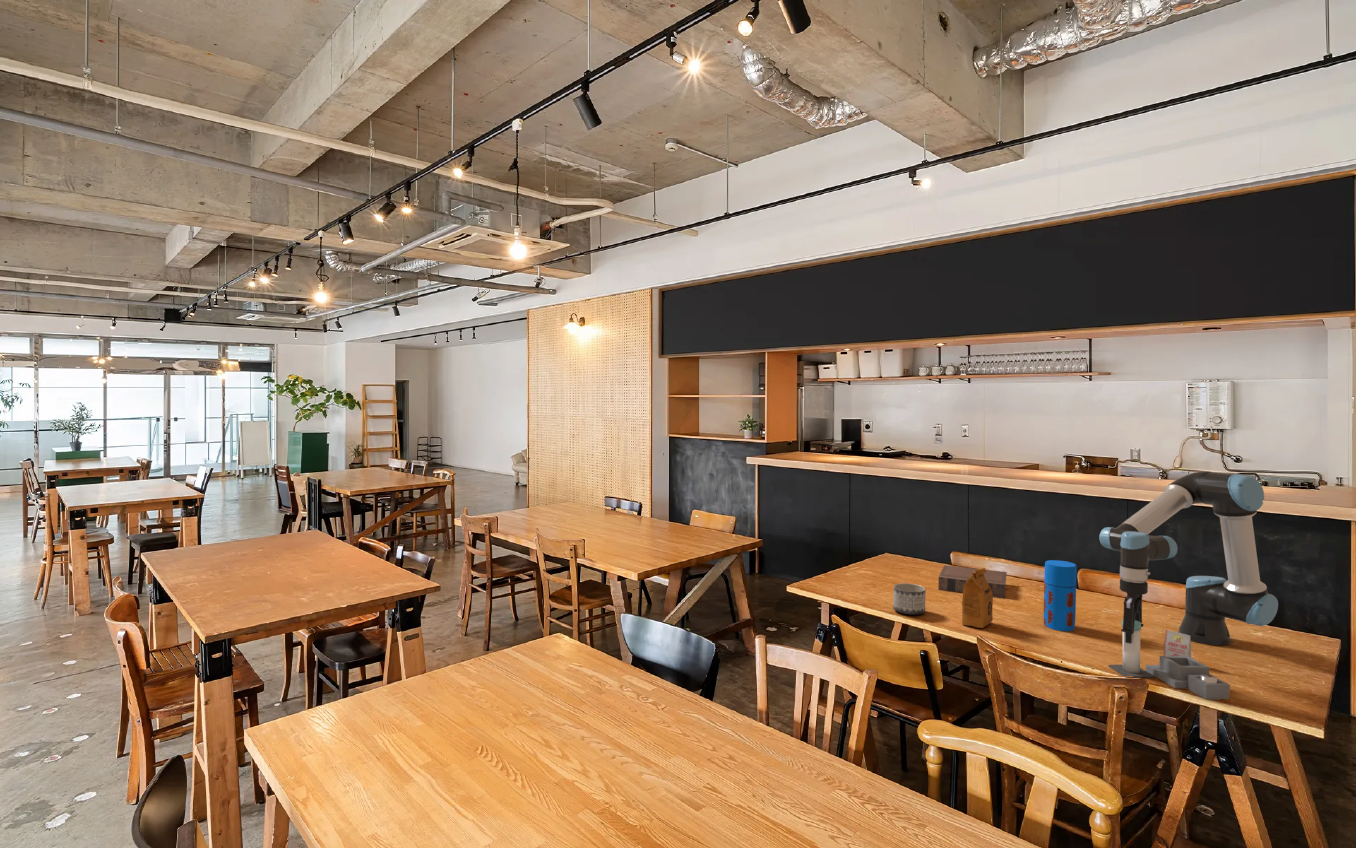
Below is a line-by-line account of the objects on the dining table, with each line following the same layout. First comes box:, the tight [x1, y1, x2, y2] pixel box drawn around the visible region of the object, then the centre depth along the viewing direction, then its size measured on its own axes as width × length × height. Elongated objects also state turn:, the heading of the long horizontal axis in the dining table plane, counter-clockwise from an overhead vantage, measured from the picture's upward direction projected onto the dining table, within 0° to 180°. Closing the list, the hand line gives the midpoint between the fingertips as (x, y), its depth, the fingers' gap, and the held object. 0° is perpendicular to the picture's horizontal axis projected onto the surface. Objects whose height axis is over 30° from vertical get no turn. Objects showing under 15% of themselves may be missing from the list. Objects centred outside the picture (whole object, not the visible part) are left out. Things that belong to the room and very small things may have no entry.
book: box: [937, 564, 1008, 599], centre depth 313 cm, size 24×28×6 cm
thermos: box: [1043, 559, 1078, 632], centre depth 259 cm, size 11×11×25 cm
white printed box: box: [1163, 629, 1192, 658], centre depth 225 cm, size 4×7×10 cm, turn 39°
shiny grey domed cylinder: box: [1200, 673, 1218, 683], centre depth 200 cm, size 4×4×5 cm
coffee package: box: [961, 567, 994, 629], centre depth 262 cm, size 10×12×22 cm
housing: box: [1145, 655, 1231, 700], centre depth 207 cm, size 20×14×6 cm
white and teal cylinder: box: [1121, 619, 1142, 673], centre depth 216 cm, size 5×5×16 cm
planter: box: [892, 582, 927, 616], centre depth 277 cm, size 13×13×10 cm
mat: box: [1108, 664, 1156, 679], centre depth 217 cm, size 9×9×1 cm
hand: (1131, 649), depth 216 cm, fingers open, 7 cm apart
